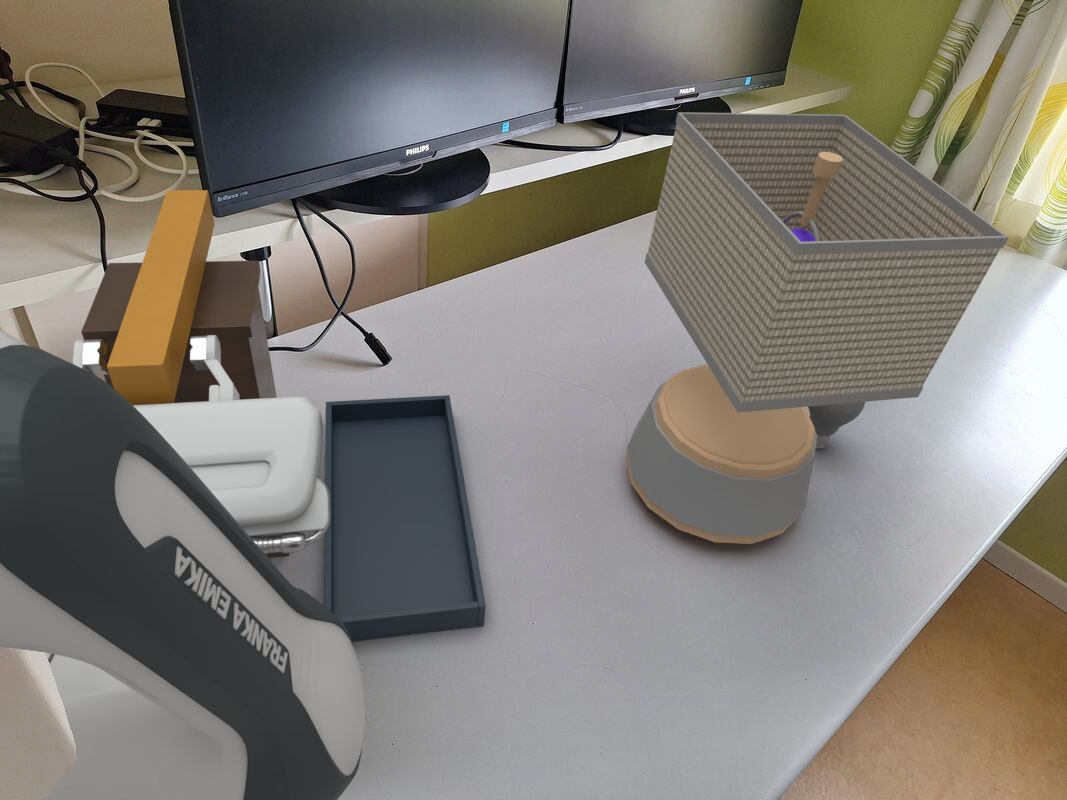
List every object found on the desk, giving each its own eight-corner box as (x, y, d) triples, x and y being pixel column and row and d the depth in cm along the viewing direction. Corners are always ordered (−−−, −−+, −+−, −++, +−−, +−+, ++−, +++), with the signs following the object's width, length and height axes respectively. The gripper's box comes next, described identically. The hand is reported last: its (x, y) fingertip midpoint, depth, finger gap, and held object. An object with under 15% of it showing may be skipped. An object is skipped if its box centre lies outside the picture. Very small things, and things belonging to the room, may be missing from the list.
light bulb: (796, 460, 86) (827, 393, 79) (781, 424, 90) (810, 358, 84) (847, 463, 86) (882, 396, 80) (830, 427, 91) (862, 361, 84)
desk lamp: (839, 556, 76) (1033, 224, 52) (661, 581, 71) (783, 231, 47) (747, 411, 91) (863, 104, 67) (596, 423, 87) (663, 100, 63)
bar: (119, 406, 45) (106, 366, 43) (175, 224, 61) (167, 190, 59) (174, 403, 46) (163, 364, 44) (214, 224, 62) (207, 190, 60)
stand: (167, 569, 67) (80, 331, 50) (181, 496, 73) (108, 262, 56) (292, 557, 69) (250, 326, 52) (295, 487, 76) (258, 260, 59)
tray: (326, 644, 63) (323, 624, 61) (328, 422, 83) (325, 401, 81) (483, 626, 66) (485, 606, 64) (448, 414, 86) (449, 394, 84)
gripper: (328, 541, 42) (319, 313, 46) (-96, 580, 38) (-64, 325, 42) (335, 555, 48) (327, 352, 52) (-31, 591, 44) (-9, 366, 48)
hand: (150, 340), depth 47 cm, fingers open, 5 cm apart
